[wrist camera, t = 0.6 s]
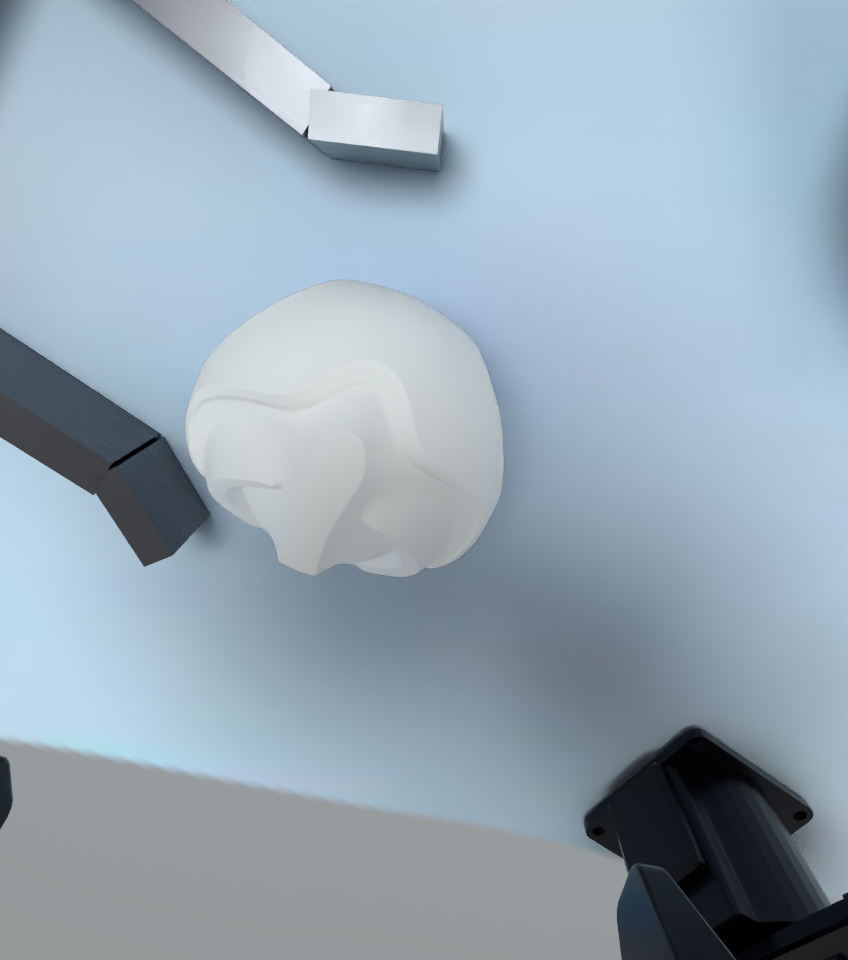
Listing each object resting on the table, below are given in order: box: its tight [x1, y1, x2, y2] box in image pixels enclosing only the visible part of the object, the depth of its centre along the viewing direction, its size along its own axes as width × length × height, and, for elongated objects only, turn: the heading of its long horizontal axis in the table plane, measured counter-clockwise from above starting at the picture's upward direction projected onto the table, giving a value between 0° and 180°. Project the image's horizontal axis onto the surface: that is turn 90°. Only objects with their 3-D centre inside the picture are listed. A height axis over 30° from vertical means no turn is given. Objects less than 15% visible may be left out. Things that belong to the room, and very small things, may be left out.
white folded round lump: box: [185, 280, 504, 577], centre depth 15 cm, size 8×8×8 cm
